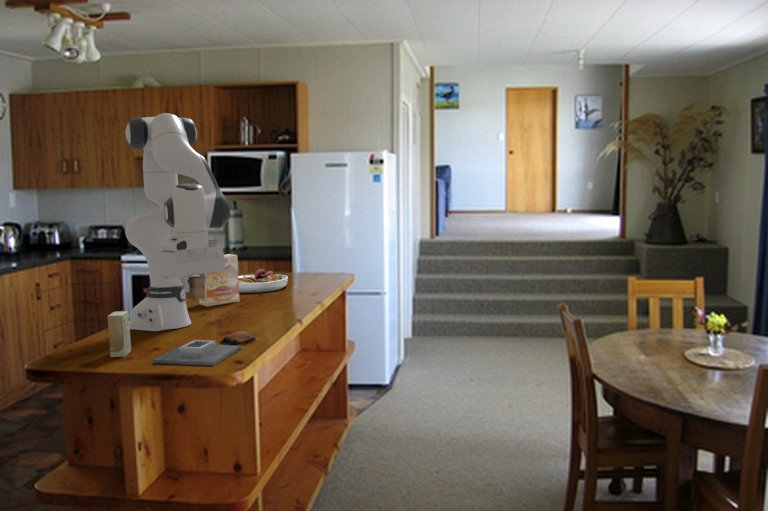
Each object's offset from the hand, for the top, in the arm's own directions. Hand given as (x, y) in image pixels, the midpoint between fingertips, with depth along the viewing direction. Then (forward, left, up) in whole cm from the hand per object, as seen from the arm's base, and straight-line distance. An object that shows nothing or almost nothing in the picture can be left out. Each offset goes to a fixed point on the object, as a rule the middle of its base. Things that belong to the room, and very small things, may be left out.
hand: (194, 290), depth 189 cm
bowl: (-32, +117, -19) cm, 123 cm away
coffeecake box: (-32, +80, -19) cm, 88 cm away
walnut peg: (0, 0, -2) cm, 2 cm away
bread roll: (+4, +18, -20) cm, 27 cm away
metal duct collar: (0, 0, -19) cm, 19 cm away
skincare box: (-24, -1, -19) cm, 31 cm away
